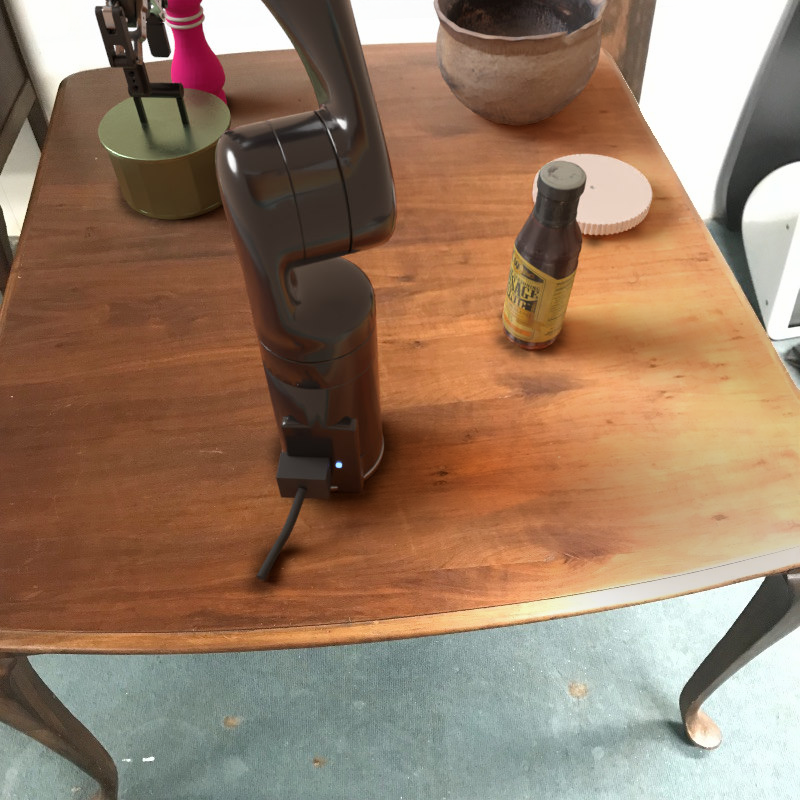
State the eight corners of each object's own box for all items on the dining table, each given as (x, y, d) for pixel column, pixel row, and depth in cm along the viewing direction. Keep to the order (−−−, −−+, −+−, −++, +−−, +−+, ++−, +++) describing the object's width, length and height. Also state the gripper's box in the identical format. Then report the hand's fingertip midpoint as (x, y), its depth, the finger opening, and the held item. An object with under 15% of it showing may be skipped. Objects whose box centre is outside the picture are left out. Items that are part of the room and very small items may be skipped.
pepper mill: (176, 98, 111) (137, -53, 95) (226, 90, 112) (196, -60, 97) (182, 125, 107) (143, -29, 91) (234, 116, 108) (204, -37, 92)
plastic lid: (636, 170, 99) (640, 153, 97) (657, 242, 90) (663, 224, 88) (526, 171, 99) (528, 153, 97) (537, 242, 90) (539, 224, 88)
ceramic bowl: (547, 169, 99) (565, 55, 87) (402, 122, 106) (401, 11, 95) (612, 90, 111) (636, -20, 99) (478, 52, 118) (485, -54, 107)
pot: (226, 221, 93) (213, 163, 87) (109, 218, 94) (87, 160, 88) (248, 152, 102) (237, 95, 96) (141, 150, 103) (123, 93, 97)
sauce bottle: (490, 319, 82) (509, 157, 67) (543, 304, 84) (573, 142, 68) (518, 362, 78) (544, 200, 63) (572, 346, 80) (611, 183, 64)
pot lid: (217, 170, 87) (206, 122, 82) (83, 167, 88) (65, 119, 83) (243, 98, 97) (234, 50, 92) (122, 95, 97) (107, 48, 93)
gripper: (93, -113, 79) (137, 43, 92) (44, -56, 70) (100, 109, 83) (165, -113, 79) (199, 44, 91) (125, -54, 70) (169, 110, 82)
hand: (152, 75), depth 87 cm, fingers open, 8 cm apart
